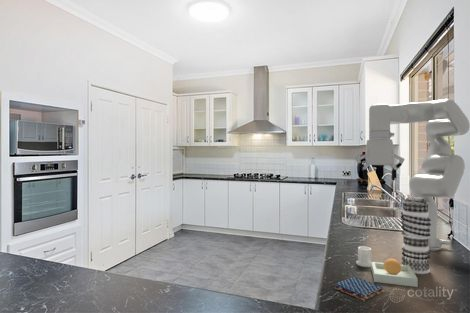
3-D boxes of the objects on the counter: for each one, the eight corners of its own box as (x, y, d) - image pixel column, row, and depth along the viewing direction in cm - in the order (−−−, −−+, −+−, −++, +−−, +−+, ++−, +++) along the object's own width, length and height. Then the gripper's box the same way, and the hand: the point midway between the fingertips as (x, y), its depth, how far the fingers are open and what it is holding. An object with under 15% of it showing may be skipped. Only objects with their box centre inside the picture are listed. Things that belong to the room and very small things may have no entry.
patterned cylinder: (394, 266, 113) (394, 196, 113) (413, 263, 116) (413, 195, 116) (417, 275, 104) (417, 200, 104) (437, 272, 108) (437, 198, 108)
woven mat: (332, 289, 95) (332, 283, 95) (353, 281, 101) (353, 275, 101) (363, 303, 86) (363, 295, 86) (385, 293, 92) (385, 286, 92)
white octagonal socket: (372, 263, 117) (372, 246, 117) (373, 268, 111) (373, 251, 111) (356, 261, 119) (356, 245, 119) (356, 266, 113) (356, 249, 113)
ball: (400, 272, 104) (399, 256, 104) (402, 277, 100) (401, 262, 100) (383, 270, 106) (382, 256, 106) (385, 276, 101) (384, 261, 101)
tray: (409, 273, 107) (409, 265, 107) (417, 287, 95) (417, 278, 95) (371, 268, 111) (371, 261, 111) (374, 281, 99) (374, 273, 99)
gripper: (402, 136, 124) (402, 179, 124) (355, 137, 130) (355, 178, 130) (406, 135, 117) (406, 181, 117) (356, 136, 123) (356, 180, 123)
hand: (379, 179), depth 123 cm, fingers open, 9 cm apart
